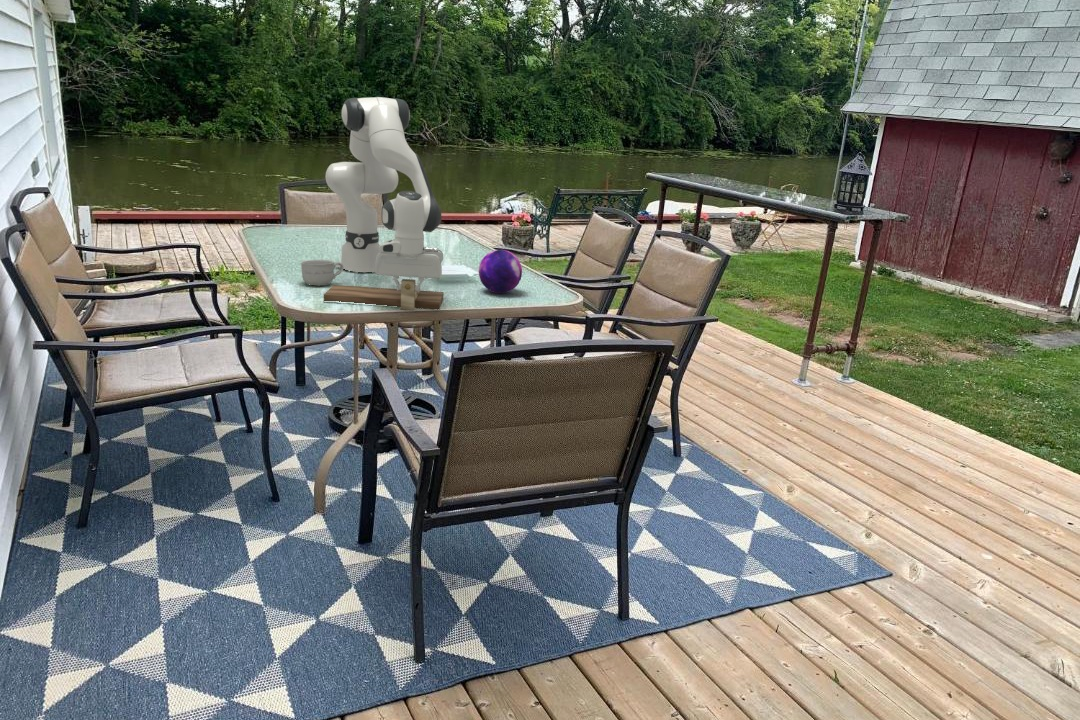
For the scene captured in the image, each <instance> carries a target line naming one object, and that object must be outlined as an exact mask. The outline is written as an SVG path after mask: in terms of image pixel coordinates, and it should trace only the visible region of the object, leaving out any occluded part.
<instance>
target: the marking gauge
mask: <svg viewBox="0 0 1080 720" xmlns="http://www.w3.org/2000/svg"><path fill="white" fill-rule="evenodd" d="M400 284H401V307H400V310H404V309H406V310H405V311H407V310H408V311H415V309H416V308H415V300H416V298H417V296H418V294H419V292H420V291H419V292H415V291H414V290H415V288H414V287H415V285H417V284H416V279H415V278H414V279H412V278H411V279H410V278H402V279H401V281H400Z"/></svg>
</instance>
